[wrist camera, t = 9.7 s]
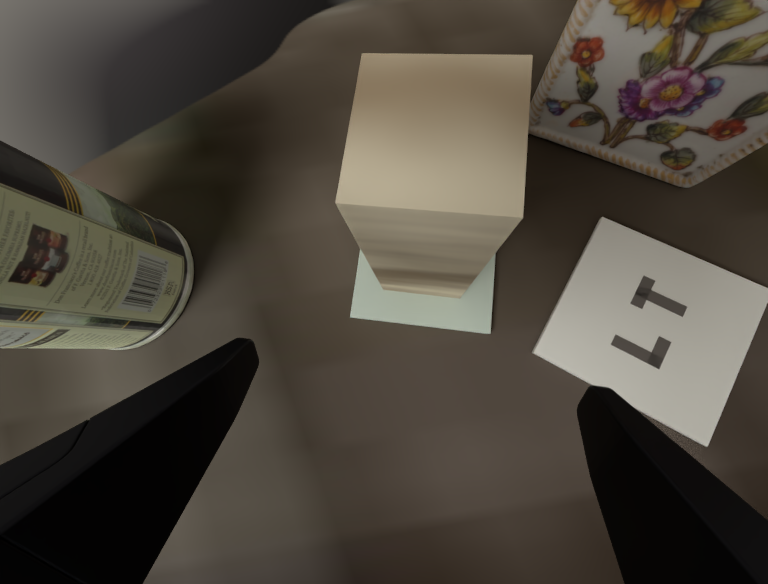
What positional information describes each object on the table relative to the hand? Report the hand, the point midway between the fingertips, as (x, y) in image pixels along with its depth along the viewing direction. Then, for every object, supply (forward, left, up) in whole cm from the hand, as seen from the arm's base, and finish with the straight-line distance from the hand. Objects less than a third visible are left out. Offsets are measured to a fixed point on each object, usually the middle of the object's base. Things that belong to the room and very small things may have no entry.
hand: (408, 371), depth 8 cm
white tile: (+2, -14, -11) cm, 18 cm away
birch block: (+7, -1, -11) cm, 13 cm away
